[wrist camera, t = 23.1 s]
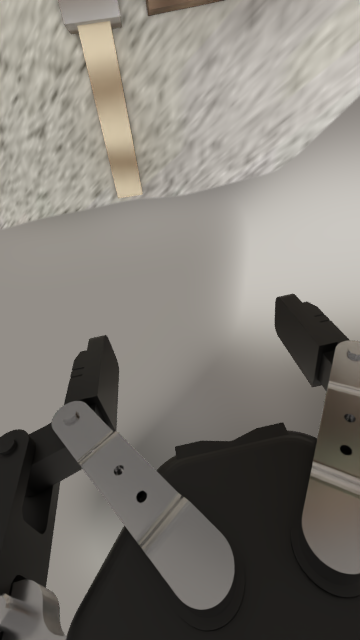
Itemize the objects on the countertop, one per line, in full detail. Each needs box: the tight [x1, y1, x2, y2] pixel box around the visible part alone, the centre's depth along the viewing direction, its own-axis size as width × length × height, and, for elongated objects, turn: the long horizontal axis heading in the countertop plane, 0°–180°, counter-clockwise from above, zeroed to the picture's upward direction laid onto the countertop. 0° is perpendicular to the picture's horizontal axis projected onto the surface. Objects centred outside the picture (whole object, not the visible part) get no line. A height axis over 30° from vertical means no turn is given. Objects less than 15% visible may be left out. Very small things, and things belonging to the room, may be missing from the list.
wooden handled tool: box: [58, 0, 143, 198], centre depth 30 cm, size 20×5×4 cm, turn 7°
